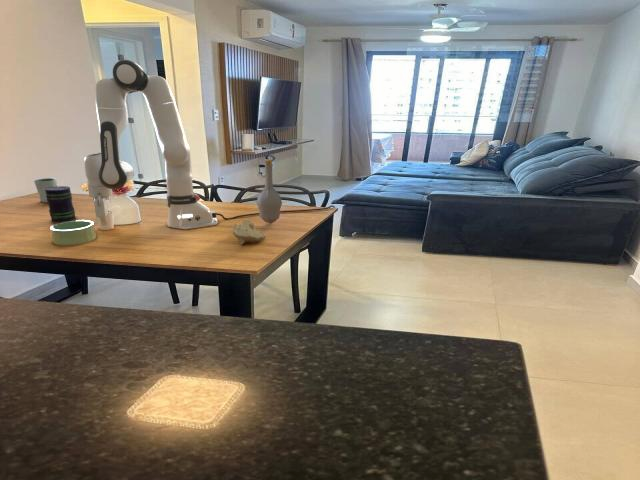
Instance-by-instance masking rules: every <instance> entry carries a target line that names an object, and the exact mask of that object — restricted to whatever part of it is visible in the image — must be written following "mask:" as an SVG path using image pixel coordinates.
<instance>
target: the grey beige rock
mask: <svg viewBox="0 0 640 480" xmlns="http://www.w3.org/2000/svg"><path fill="white" fill-rule="evenodd" d="M231 235H233V236H234V237H235V238H236V239H237V240H238V244H240V246H243V244H244V243H246V242H252V243H253V242H254V243H257V242H260V241H264V240H265V239H266V238H267V236H266V233H265V232H264V231H262V230H257V229H256V225H255V223H254V222H253V221H252V220H251V219H250V218H245V219H244V220H243V221H242V222H241V223H240V224H239V225H238V222H235V224H234V225H233V227H232V229H231Z"/></svg>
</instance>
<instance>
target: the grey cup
mask: <svg viewBox="0 0 640 480" xmlns="http://www.w3.org/2000/svg"><path fill="white" fill-rule="evenodd" d="M33 182H34V185H35V188H36V191H37V194H38V197H39V201H40V202H41V203H46V204H47V203H48V201H47V197H46V191H45V189H46V188H50V187H58V182H57V178H54V177H53V178H52V177H47V178H38V179H34V180H33Z"/></svg>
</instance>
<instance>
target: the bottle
mask: <svg viewBox="0 0 640 480" xmlns="http://www.w3.org/2000/svg"><path fill="white" fill-rule="evenodd" d="M264 161H265V164H264V173H265V174H264V175H265V179H264V181H265V182H264V183H265V184H264V188H263V189H262V190H261V191H260V192H259V194H258V195H257V199H256V205H257V208H258V213H259V214H258V215H259V218H260V219H261V220H262V221H264V222H265V223H267V224H269V225H271V224H273V223H275V222H276V221H277V220H279V219H280V216H281V213H280V211H281V208H282V205H283V201H282V197H281V194H279V192H277V190H276V189H275V188H274V184H273V164H272V162H273V161H272V159H264Z"/></svg>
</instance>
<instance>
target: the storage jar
mask: <svg viewBox="0 0 640 480" xmlns="http://www.w3.org/2000/svg"><path fill="white" fill-rule="evenodd" d="M45 191H46V197H47V201H48V202H47V203H48V207H49V209H48V212H49V216H50V220H51V222H52V223H62V222H67V221H76V219H77V218H76V210H75V207H74V204H73V196H72V191H71V187H70V186H68V185H67V186H66V185H65V186H63V185H61V186H60V185H59V186H58V185H57V187H50V188H46V189H45Z"/></svg>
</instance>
